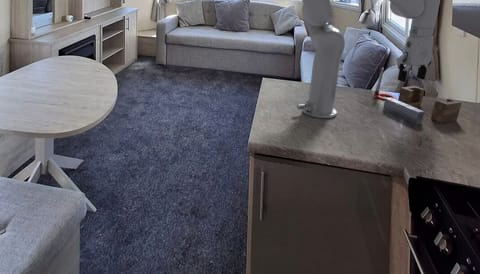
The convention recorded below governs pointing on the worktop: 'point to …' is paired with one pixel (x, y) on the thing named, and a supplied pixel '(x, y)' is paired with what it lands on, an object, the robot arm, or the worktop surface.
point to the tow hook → (377, 94)
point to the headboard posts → (441, 111)
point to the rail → (403, 110)
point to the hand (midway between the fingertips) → (411, 79)
